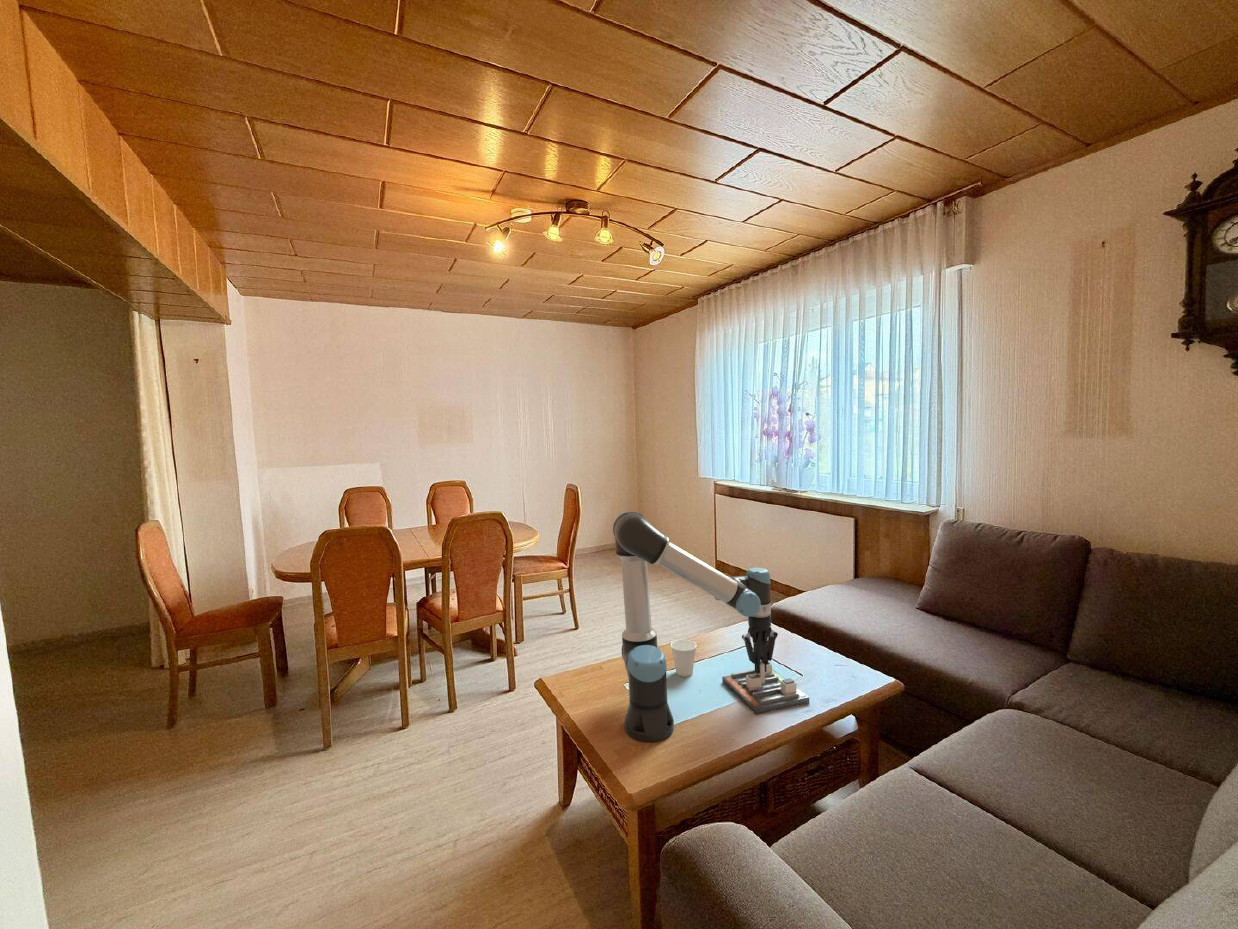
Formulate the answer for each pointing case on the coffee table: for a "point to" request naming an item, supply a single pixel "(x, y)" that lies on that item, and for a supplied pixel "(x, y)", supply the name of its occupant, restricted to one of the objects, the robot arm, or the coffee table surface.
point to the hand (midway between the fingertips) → (760, 681)
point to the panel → (763, 693)
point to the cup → (683, 656)
